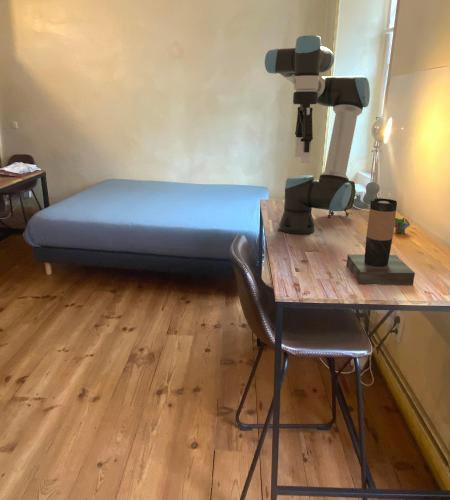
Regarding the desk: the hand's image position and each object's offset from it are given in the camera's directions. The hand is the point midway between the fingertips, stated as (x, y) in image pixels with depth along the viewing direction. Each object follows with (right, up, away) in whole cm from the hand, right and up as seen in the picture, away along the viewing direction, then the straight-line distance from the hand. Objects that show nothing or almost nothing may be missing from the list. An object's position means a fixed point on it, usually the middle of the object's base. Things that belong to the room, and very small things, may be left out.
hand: (302, 159), depth 140 cm
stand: (+23, -38, -4) cm, 45 cm away
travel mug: (+22, -34, -5) cm, 41 cm away
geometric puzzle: (+49, -23, +41) cm, 67 cm away
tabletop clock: (+28, -13, +68) cm, 75 cm away
